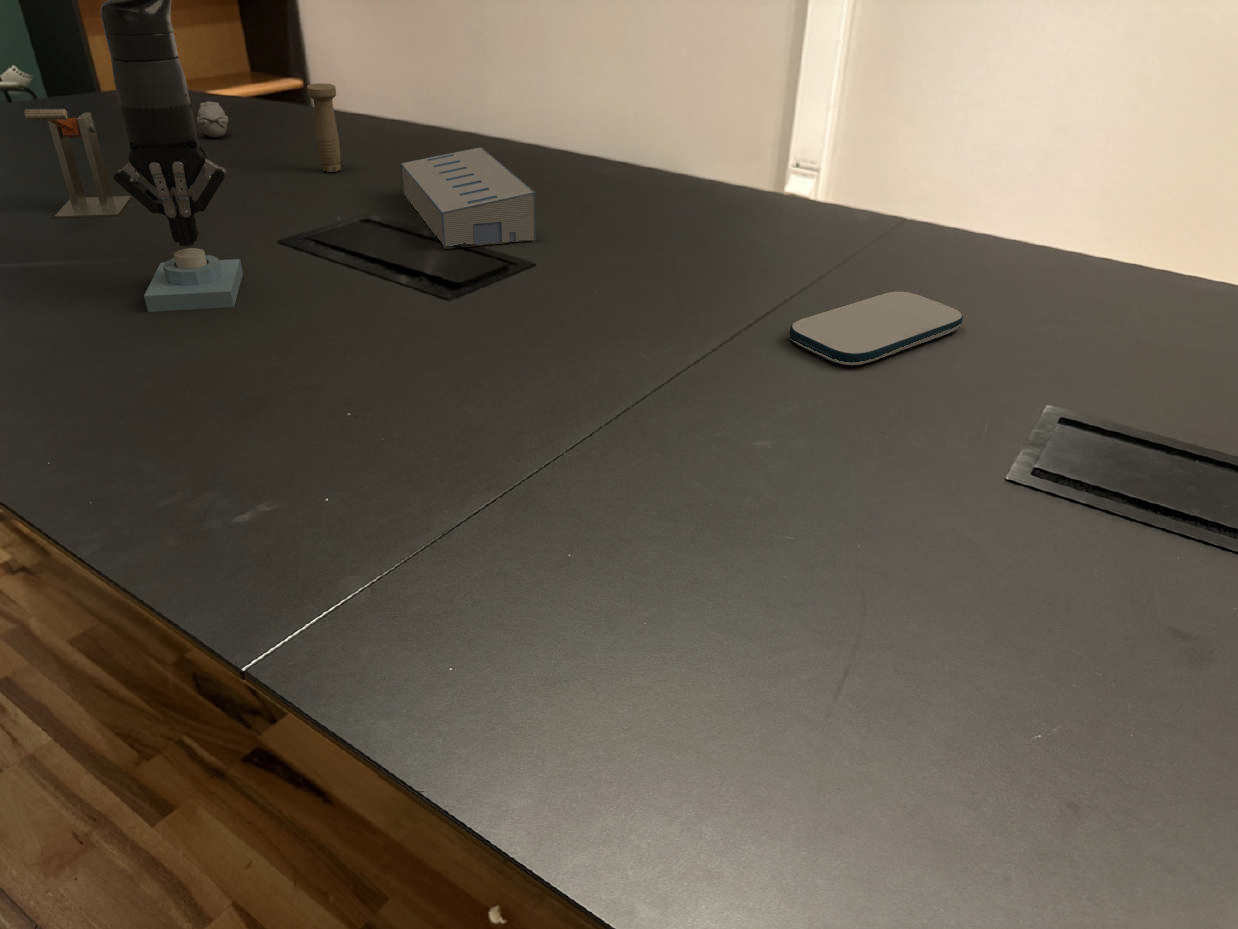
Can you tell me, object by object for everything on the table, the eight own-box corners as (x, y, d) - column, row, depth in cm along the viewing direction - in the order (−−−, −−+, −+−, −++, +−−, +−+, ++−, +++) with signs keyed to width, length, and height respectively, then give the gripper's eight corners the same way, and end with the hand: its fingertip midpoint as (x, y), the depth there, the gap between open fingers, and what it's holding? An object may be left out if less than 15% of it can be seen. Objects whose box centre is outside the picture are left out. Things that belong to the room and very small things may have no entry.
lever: (65, 122, 126) (62, 104, 126) (26, 122, 125) (22, 104, 125) (94, 137, 139) (92, 121, 138) (59, 138, 138) (56, 121, 137)
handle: (320, 176, 166) (308, 90, 159) (317, 167, 172) (306, 83, 164) (347, 175, 168) (336, 89, 160) (343, 166, 173) (333, 83, 165)
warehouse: (403, 196, 158) (399, 151, 153) (483, 190, 162) (481, 146, 158) (444, 250, 134) (440, 199, 130) (535, 241, 139) (535, 191, 135)
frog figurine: (230, 132, 193) (223, 98, 190) (232, 140, 188) (226, 104, 184) (199, 134, 191) (192, 99, 187) (201, 141, 186) (194, 105, 182)
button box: (234, 307, 113) (227, 277, 111) (148, 312, 111) (140, 281, 109) (243, 274, 123) (237, 245, 121) (164, 278, 121) (157, 249, 119)
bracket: (120, 221, 141) (94, 122, 133) (56, 223, 138) (26, 122, 131) (132, 203, 149) (109, 108, 141) (72, 205, 147) (45, 109, 139)
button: (205, 270, 114) (202, 256, 113) (174, 271, 113) (171, 258, 112) (208, 260, 117) (206, 247, 116) (179, 261, 116) (176, 248, 115)
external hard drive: (898, 301, 123) (900, 287, 122) (970, 330, 115) (974, 315, 114) (777, 339, 111) (779, 324, 110) (849, 374, 103) (852, 359, 102)
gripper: (84, 106, 100) (124, 257, 109) (211, 104, 103) (240, 251, 112) (99, 93, 106) (136, 237, 115) (219, 92, 109) (245, 233, 118)
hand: (187, 244), depth 114 cm, fingers closed
